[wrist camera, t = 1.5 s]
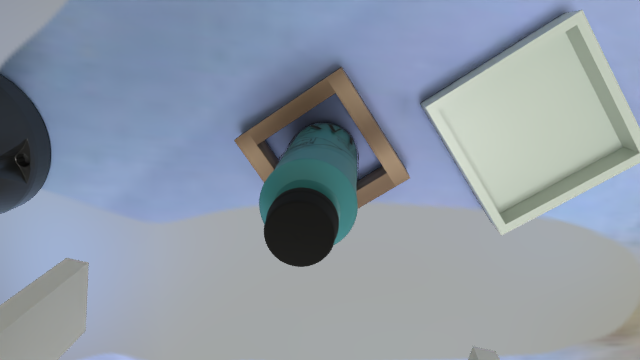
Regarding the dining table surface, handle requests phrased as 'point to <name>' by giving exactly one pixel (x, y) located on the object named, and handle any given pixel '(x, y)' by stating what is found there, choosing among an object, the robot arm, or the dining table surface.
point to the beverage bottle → (311, 195)
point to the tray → (537, 123)
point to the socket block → (342, 86)
